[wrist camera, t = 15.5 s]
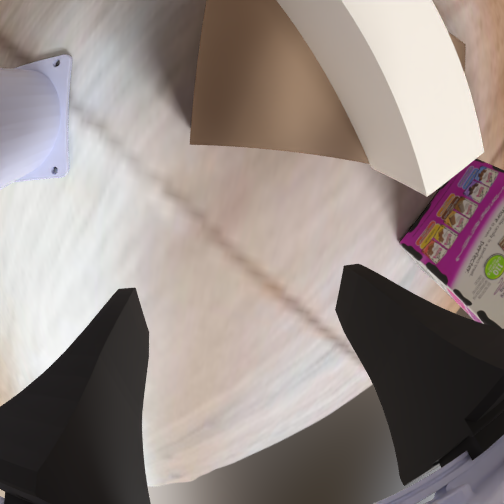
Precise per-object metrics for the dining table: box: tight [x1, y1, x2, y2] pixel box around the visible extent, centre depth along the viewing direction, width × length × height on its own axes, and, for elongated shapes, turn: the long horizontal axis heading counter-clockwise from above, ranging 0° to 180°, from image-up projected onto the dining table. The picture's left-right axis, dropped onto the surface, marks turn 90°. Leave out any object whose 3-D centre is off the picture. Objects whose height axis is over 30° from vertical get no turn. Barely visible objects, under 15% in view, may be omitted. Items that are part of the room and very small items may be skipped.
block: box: [276, 0, 484, 197], centre depth 8 cm, size 4×9×4 cm, turn 32°
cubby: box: [190, 0, 465, 164], centre depth 12 cm, size 14×9×6 cm, turn 83°
